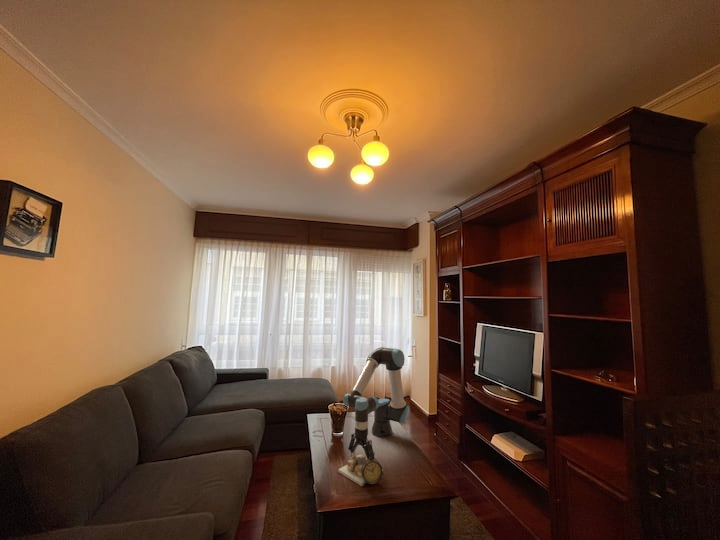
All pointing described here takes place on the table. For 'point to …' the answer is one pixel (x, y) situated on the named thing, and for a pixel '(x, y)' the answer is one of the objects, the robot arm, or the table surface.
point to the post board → (353, 473)
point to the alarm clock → (371, 471)
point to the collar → (355, 464)
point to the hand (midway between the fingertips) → (360, 468)
